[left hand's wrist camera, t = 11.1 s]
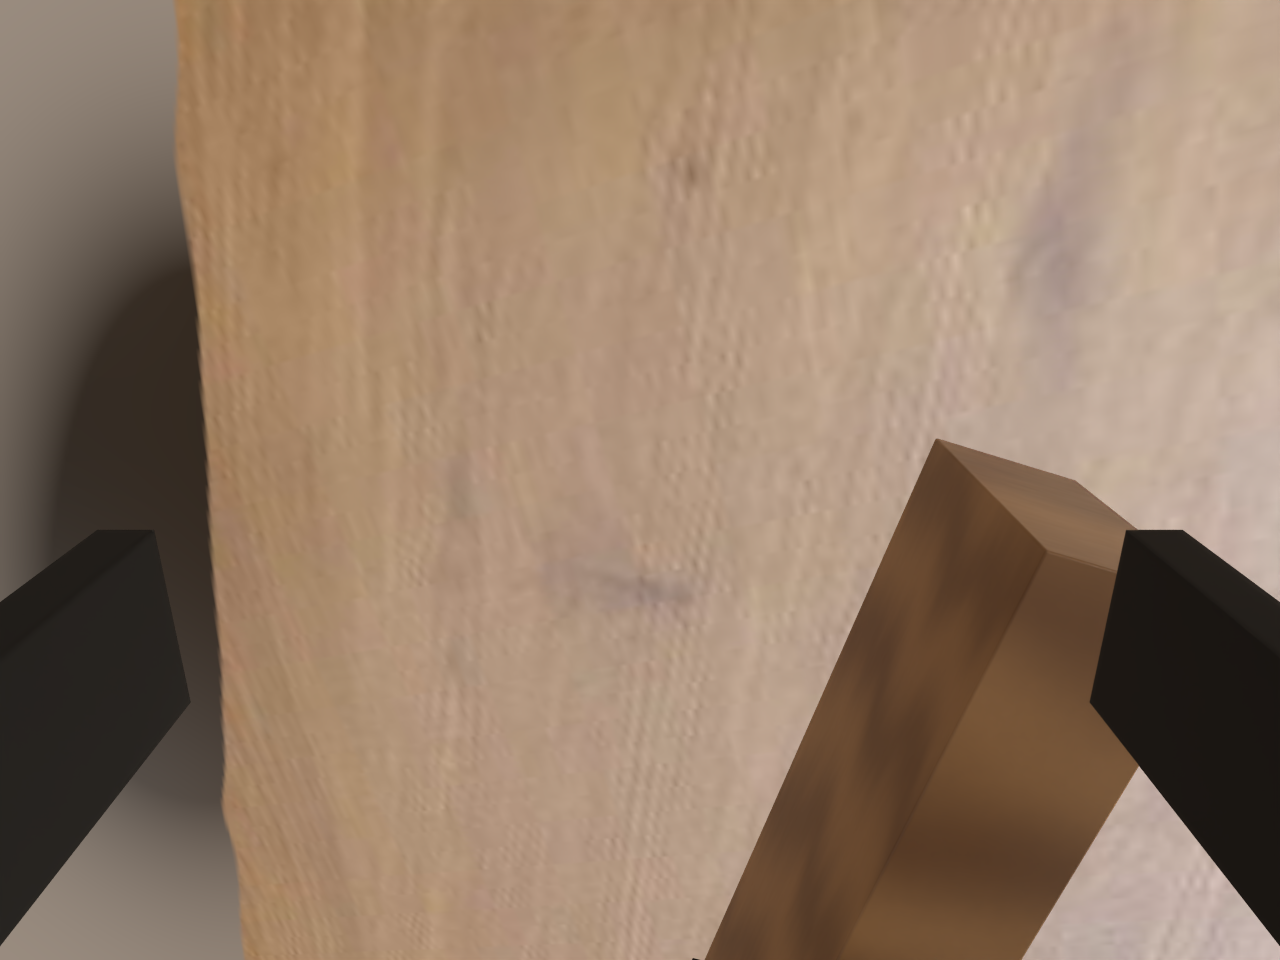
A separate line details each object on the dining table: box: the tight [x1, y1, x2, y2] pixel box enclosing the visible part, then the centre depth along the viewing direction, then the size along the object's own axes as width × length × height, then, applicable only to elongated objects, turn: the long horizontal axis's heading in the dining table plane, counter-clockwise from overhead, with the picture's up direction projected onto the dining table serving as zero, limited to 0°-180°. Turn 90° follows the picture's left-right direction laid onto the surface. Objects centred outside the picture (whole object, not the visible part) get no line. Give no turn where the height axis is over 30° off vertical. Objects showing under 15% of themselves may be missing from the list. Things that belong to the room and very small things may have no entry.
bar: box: [705, 439, 1139, 960], centre depth 28 cm, size 26×5×8 cm, turn 163°
